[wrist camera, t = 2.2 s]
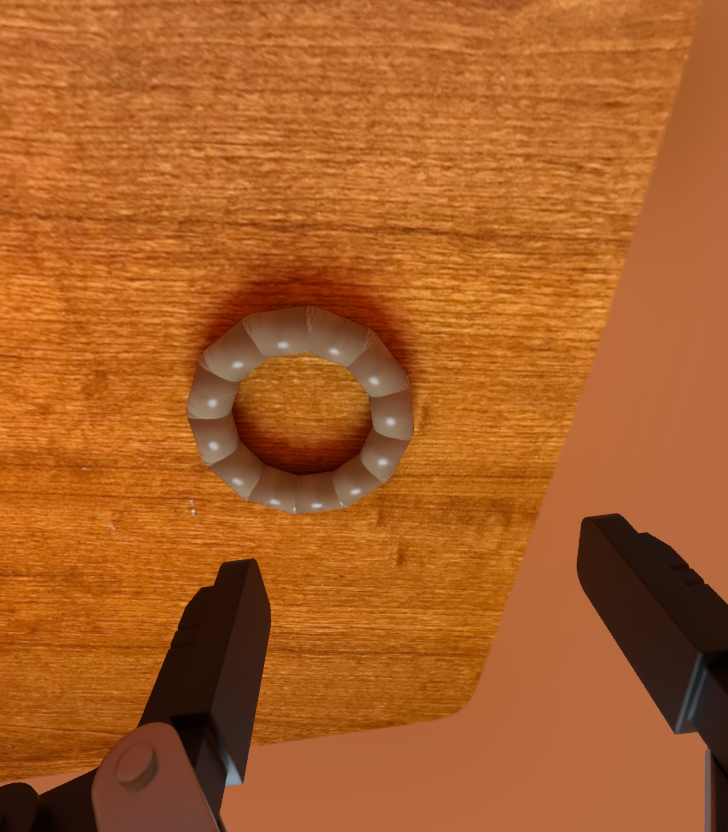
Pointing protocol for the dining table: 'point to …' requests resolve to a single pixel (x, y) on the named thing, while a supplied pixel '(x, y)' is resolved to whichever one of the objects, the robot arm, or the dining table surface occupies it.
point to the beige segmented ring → (291, 336)
